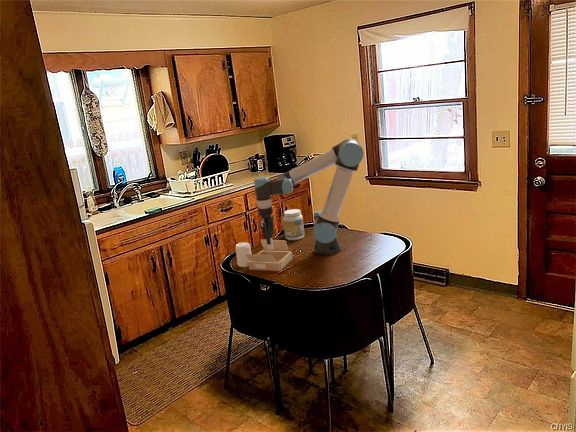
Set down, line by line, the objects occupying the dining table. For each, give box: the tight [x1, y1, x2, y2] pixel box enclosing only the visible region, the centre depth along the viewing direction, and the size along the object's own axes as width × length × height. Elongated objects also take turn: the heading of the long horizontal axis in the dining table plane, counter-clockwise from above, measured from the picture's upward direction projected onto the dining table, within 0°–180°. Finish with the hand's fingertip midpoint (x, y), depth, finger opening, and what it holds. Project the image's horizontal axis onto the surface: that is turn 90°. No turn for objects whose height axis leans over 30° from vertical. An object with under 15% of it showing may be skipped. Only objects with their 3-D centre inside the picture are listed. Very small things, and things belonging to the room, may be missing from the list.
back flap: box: [260, 239, 290, 251], centre depth 253 cm, size 15×7×1 cm
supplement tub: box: [282, 208, 305, 241], centre depth 287 cm, size 12×12×17 cm
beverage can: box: [234, 241, 252, 268], centre depth 252 cm, size 8×8×12 cm
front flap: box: [245, 253, 276, 262], centre depth 238 cm, size 15×7×1 cm
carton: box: [248, 249, 294, 273], centre depth 249 cm, size 19×17×4 cm
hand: (270, 249), depth 248 cm, fingers closed
